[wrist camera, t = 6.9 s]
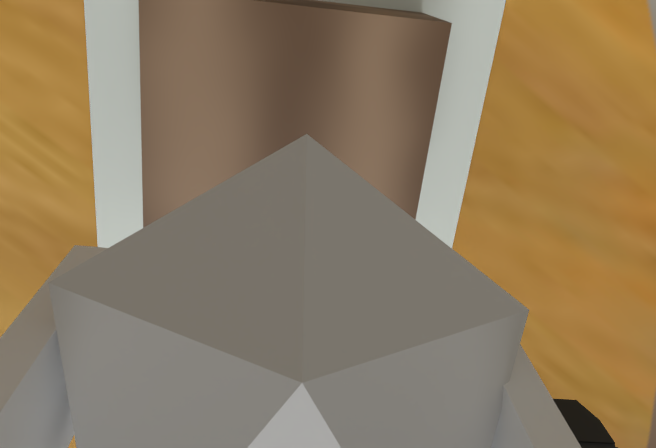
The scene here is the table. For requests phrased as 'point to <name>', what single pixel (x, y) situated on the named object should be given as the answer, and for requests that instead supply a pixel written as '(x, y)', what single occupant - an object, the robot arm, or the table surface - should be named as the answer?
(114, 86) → the base plate
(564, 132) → the table surface
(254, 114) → the walnut block
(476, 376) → the die
